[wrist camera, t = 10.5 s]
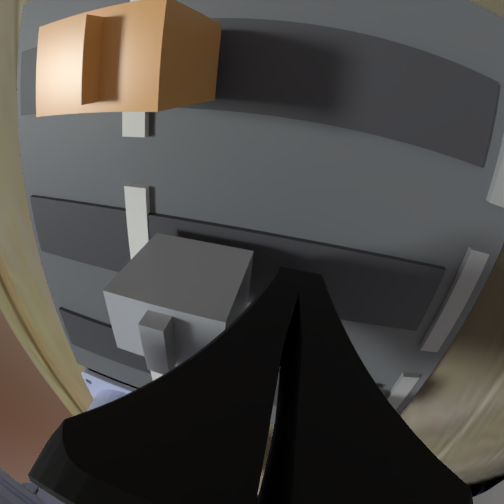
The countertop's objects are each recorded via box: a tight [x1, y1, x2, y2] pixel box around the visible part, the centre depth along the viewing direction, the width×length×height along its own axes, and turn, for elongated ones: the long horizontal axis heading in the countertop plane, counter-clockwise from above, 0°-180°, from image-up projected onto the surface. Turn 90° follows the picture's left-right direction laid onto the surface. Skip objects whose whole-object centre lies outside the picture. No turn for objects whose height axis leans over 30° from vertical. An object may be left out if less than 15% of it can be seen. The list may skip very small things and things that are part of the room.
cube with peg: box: [103, 233, 254, 375], centre depth 8 cm, size 2×3×4 cm, turn 85°
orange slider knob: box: [36, 0, 222, 117], centre depth 5 cm, size 2×3×4 cm, turn 85°
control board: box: [17, 0, 504, 424], centre depth 11 cm, size 19×18×1 cm
